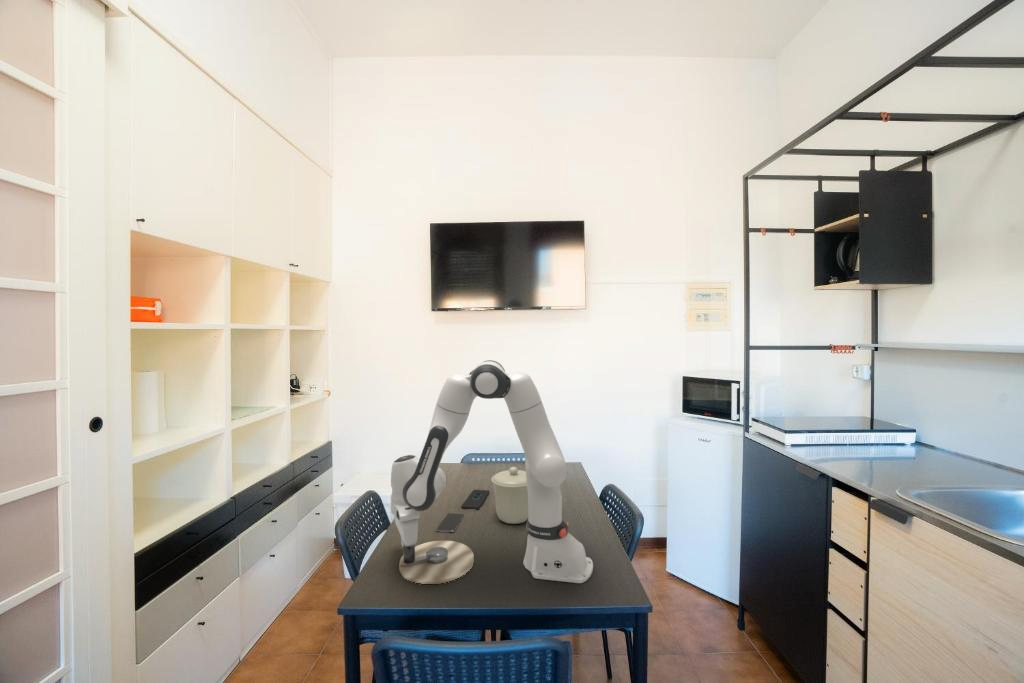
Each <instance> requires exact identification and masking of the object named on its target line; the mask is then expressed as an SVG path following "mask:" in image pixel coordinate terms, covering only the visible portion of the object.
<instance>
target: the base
mask: <svg viewBox="0 0 1024 683" xmlns="http://www.w3.org/2000/svg"><path fill="white" fill-rule="evenodd" d="M434 547H444V548H446V549H447V550H448V558H447V560H446V561H444V562H442V563H437V564H433V563H429V562H423V563H418V564H414V565H409V566H406V564H405V563H404V562H403V555H402V556H401V557H400V560H399V563H398V565H399V566H398V569H399V573H400V575H401V576H402V578H404V579H405V580H406V579H407V580H406V581H408V580H409V581H408V582H410V581H411V582H410V583H413V582H415V583H414V584H416V583H421V584H439V585H442V584H441V583H444V584H447V583H446V582H448V583H450V582H449V581H452V580H454V581H456V580H455V579H457V578H459V579H461V578H462V577H464V576H466V575H467V574H468V573H469V572H470V571H471V570H472V568H473V566H474V564H473V563H475V557H474V556H475V555H474V552H473V550H472V549H471V548H470V547H469V546H467V545H466V544H464V543H461V542H459V541H458V542H457V541H454V540H433V541H427V542H424V543H421V544H418V545H415V558H417V557H421V556H426V552H427V551H428V550H429V549H431V548H434ZM470 569H471V570H470ZM468 571H469V572H468ZM467 572H468V573H467ZM466 573H467V574H466ZM463 575H464V576H463ZM461 576H462V577H461ZM460 577H461V578H460ZM457 580H458V579H457ZM452 582H453V581H452ZM421 584H420V585H421Z"/></svg>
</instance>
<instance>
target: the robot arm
mask: <svg viewBox="0 0 1024 683" xmlns="http://www.w3.org/2000/svg"><path fill="white" fill-rule="evenodd" d="M477 397H479V398H482V399H488V400H490V399H504V401H505V403H506V405H507V410H508V412H509V415H510V417H511V420H512V423H513V426H514V430H515V432H516V435H517V437H518V439H519V443H520V444H521V446H522V450H523V453H524V463H525V464H524V465H525V471H526V480H527V491H528V519H527V520H526V536H527V538H526V540H527V543H526V548H525V554H524V558H523V561H522V562H523V563H522V564H523V567H524V568H525V569H526V570H528V571H529V572H530V574H531V576H532V577H533V578H534V579H538V580H547V581H553V582H554V581H556V582H563V583H564V582H566V583H574V584H583V583H585V582H587V581H588V580H589V578H591V576H592V574H593V571H594V563H593V560H592V559H591V557H588V556H587V553H586V550H585V546H584V545H583V544H582V542H580V541H579V540H578V539H576V538H575V537H574V536H573V535H572V534H571V533H570V532H569V521H566V522H567V523H566V522H565V521H564V520H563V496H562V491H561V484H563V483H564V482H565V480H566V478H567V474H568V468H567V463H566V460H565V457H564V455H563V451H562V450H561V447H560V445H559V443H558V440H557V438H556V436H555V433H554V431H553V429H552V426H551V424H550V421H549V419H548V416H547V413H546V412H547V411H546V410H545V407H544V404H543V402H542V398H541V396H540V393H539V391H538V388H537V387H536V385H535V383H534V381H533V379H532V378H531V376H530V375H529V374H528V373H526V372H515V373H511V374H510V373H507V372H506V370H505V368H504V367H503V365H502V364H500V363H499V362H498V361H495V360H492V359H490V360H484V361H482V362H480V363H479V364H477V365H476V366H475V367H474V369H472V370H471V371H470V372H469V374H468V375H467V374H466V375H465V374H462V373H456V374H455V373H454V374H451V375H450V376H448V377H447V378H446V380H445V382H444V384H443V386H442V388H441V390H440V393H439V395H438V399H437V401H436V405H435V406H434V407H435V408H434V412H433V415H432V419H431V424H430V427H429V430H428V434H427V437H426V441H425V443H424V446H423V449H422V452H421V455H420V458H418V457H417V456H416V455H413V454H408V455H402V456H400V457H398V458H397V459H396V460H394V461H393V463H392V465H391V471H390V472H391V473H390V487H391V490H392V491H391V495H390V512H391V514H392V515H394V516H393V518H394V523H395V526H396V528H397V531H398V532H399V535H400V540H401V541H400V542H401V546H402V548H403V547H404V546H411V545H415V546H416V544H417V543H418V539H419V538H418V536H419V534H418V533H419V519H420V518H421V512H423V511H426V510H428V509H429V508H430V507H431V506H432V505H433V504H434V502H435V500H436V499H437V498H438V497H439V495H441V493H442V492H443V490H444V489H445V488H446V486H447V482H448V476H447V474H446V472H445V470H444V469H443V468H442V467H441V466H440V465H441V461H442V460H443V456H444V455H445V452H446V450H447V449H448V448H449V446H450V445H451V443H453V441H454V440H455V439H456V438H457V437H458V436H459V434H460V433H461V432H462V431H463V429H464V426H465V424H466V423H467V420H468V418H469V414H470V411H471V408H472V406H473V404H474V403H473V402H474V400H475V399H476V398H477Z"/></svg>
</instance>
